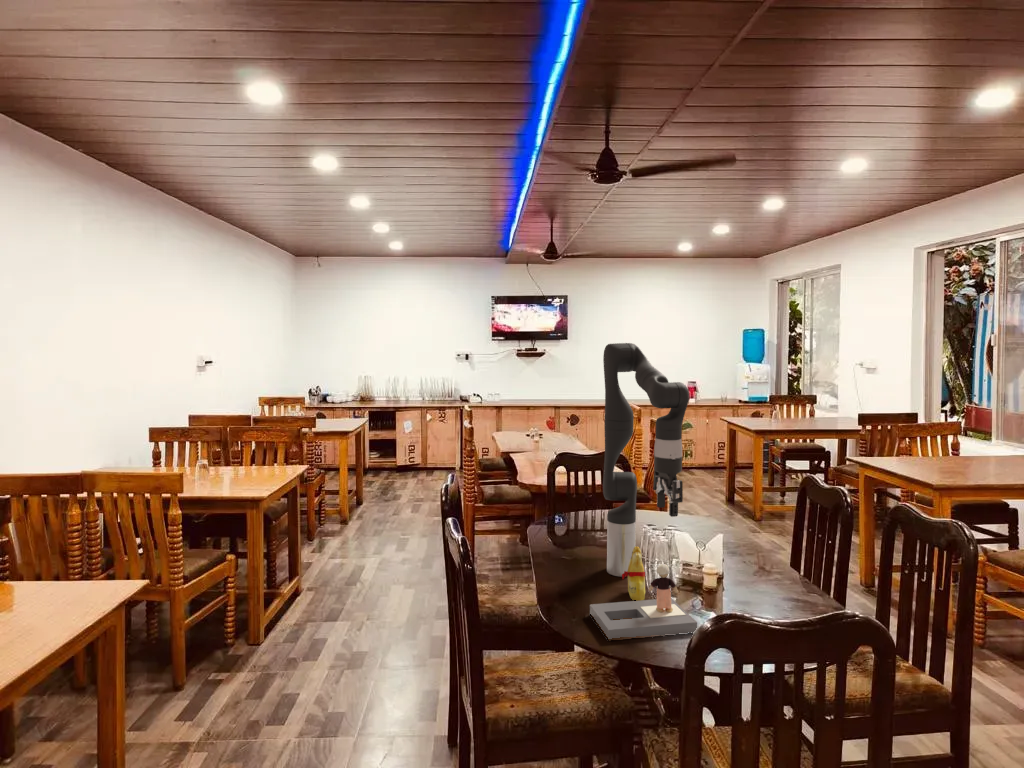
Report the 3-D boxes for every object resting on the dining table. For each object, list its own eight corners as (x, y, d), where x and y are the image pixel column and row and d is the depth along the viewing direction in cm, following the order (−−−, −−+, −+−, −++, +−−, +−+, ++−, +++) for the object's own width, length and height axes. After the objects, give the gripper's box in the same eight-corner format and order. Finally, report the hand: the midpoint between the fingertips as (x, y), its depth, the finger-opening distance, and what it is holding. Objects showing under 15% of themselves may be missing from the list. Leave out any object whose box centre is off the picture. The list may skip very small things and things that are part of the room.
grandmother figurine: (674, 606, 176) (674, 561, 175) (678, 612, 172) (679, 566, 171) (646, 608, 175) (647, 562, 174) (650, 614, 171) (651, 567, 170)
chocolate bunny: (642, 588, 197) (643, 540, 196) (647, 603, 186) (647, 552, 185) (620, 587, 198) (620, 540, 197) (623, 602, 187) (623, 551, 186)
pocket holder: (589, 615, 178) (589, 603, 178) (670, 608, 182) (671, 597, 182) (608, 641, 162) (608, 629, 162) (696, 633, 167) (697, 621, 167)
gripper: (645, 449, 184) (644, 505, 185) (665, 460, 170) (664, 520, 171) (670, 448, 185) (669, 503, 186) (692, 459, 171) (691, 518, 172)
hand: (667, 511), depth 179 cm, fingers open, 8 cm apart
